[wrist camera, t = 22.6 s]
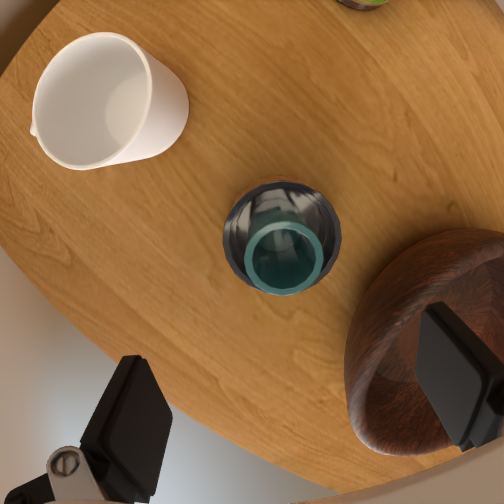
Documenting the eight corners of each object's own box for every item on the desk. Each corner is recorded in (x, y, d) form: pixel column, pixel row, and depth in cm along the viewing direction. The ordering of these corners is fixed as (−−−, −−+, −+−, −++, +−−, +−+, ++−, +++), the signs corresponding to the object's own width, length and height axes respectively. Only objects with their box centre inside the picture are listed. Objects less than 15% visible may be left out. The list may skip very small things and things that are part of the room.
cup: (253, 259, 29) (252, 301, 21) (242, 205, 27) (237, 229, 20) (309, 249, 28) (326, 288, 21) (300, 194, 27) (317, 214, 19)
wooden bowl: (384, 172, 26) (444, 190, 17) (532, 249, 28) (584, 279, 19) (294, 386, 34) (303, 456, 25) (447, 402, 36) (474, 451, 27)
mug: (69, 90, 24) (-3, 79, 14) (186, 57, 23) (147, 13, 13) (79, 174, 27) (7, 193, 17) (197, 149, 26) (160, 153, 16)
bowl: (239, 280, 30) (236, 302, 26) (218, 185, 27) (211, 193, 23) (333, 263, 29) (345, 283, 25) (321, 167, 27) (333, 172, 22)
